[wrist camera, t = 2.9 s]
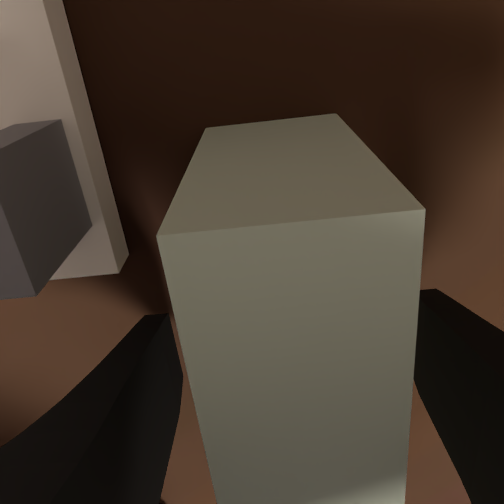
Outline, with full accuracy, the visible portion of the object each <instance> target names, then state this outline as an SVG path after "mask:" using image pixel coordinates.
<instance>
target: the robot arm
mask: <svg viewBox="0 0 504 504" xmlns="http://www.w3.org/2000/svg"><path fill="white" fill-rule="evenodd" d="M413 379H414V381H415V384H416V387H417V390H418V393H419V395H420V397H421V399H422V401H423V403H424V406H425V408H426V410H427V412H428V414H429V416H430V418H431V420H432V422H433V424H434V426H435V428H436V430H437V432H438V434H439V436H440V438H441V440H442V442H443V444H444V446H445V448H446V450H447V452H448V454H449V456H450V458H451V460H452V462H453V464H454V466H455V468H456V470H457V472H458V474H459V476H460V478H461V480H462V483H463V485H464V487H465V489H466V492H467V494H468V496H469V498H470V501H471V504H504V332H503V331H502V330H500V329H498V328H497V327H495V326H494V325H492V324H490V323H489V322H487V321H486V320H484V319H483V318H481V317H479V316H478V315H476V314H475V313H473V312H472V311H470V310H469V309H467V308H466V307H464V306H463V305H461V304H460V303H458V302H457V301H455V300H453V299H452V298H450V297H449V296H447V295H446V294H444V293H442V292H441V291H439V290H437V289H427V290H420V294H419V308H418V321H417V335H416V349H415V363H414V377H413ZM182 384H183V373H182V369H181V364H180V360H179V356H178V351H177V347H176V343H175V339H174V334H173V330H172V326H171V321H170V317H169V313H166V314H155V315H145V316H144V317H143V318H142V319H141V320H140V321H139V322H138V323H137V324H136V325H135V326H134V327H133V328H132V329H131V330H130V331H129V333H128V334H127V335H126V336H125V337H124V338H123V339H122V340H121V341H120V342H119V343H118V344H117V346H116V347H115V348H114V349H113V350H112V351H111V352H110V353H109V354H108V355H107V356H106V357H105V358H104V359H103V360H102V361H101V362H100V363H99V364H98V365H97V366H96V367H95V368H94V369H93V370H92V371H91V372H90V373H89V374H88V375H87V376H86V377H85V378H84V379H83V380H82V381H81V382H80V383H79V384H78V385H77V386H76V387H75V388H74V389H72V390H71V391H70V392H69V393H68V394H67V395H66V396H65V397H64V398H63V399H62V400H61V401H59V402H58V403H57V404H56V405H55V406H54V407H52V408H51V409H50V410H49V411H48V412H47V413H45V414H44V415H43V416H42V417H40V418H39V419H38V420H37V421H35V422H34V423H33V424H32V425H30V426H29V427H28V428H27V429H25V430H24V431H23V432H22V433H20V434H19V435H18V436H16V437H15V438H13V439H12V440H11V441H9V442H8V443H6V444H5V445H4V446H2V447H1V448H0V504H159V501H160V497H161V492H162V488H163V484H164V479H165V475H166V471H167V466H168V462H169V458H170V454H171V449H172V445H173V440H174V436H175V432H176V427H177V423H178V418H179V413H180V405H181V395H182Z"/></svg>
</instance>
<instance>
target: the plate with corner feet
mask: <svg viewBox="0 0 504 504" xmlns="http://www.w3.org/2000/svg"><path fill="white" fill-rule="evenodd" d="M128 256H129V252H128V248H127V245H126V241H125V237H124V233H123V229H122V226H121V222H120V218H119V214H118V210H117V206H116V203H115V199H114V195H113V191H112V187H111V184H110V180H109V176H108V172H107V168H106V165H105V161H104V157H103V153H102V149H101V146H100V142H99V138H98V134H97V130H96V127H95V123H94V119H93V115H92V111H91V108H90V104H89V100H88V96H87V92H86V89H85V85H84V81H83V77H82V73H81V70H80V66H79V62H78V58H77V54H76V51H75V47H74V43H73V39H72V35H71V32H70V28H69V24H68V20H67V16H66V13H65V9H64V5H63V1H62V0H0V300H2V299H12V298H23V297H33V296H37V295H38V294H39V292H40V291H41V290H42V288H43V287H44V286H45V285H46V283H47V282H48V281H49V280H55V279H65V278H75V277H86V276H96V275H106V274H117V273H119V272H120V271H121V269H122V267H123V265H124V263H125V261H126V259H127V257H128Z"/></svg>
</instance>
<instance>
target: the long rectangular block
mask: <svg viewBox="0 0 504 504" xmlns="http://www.w3.org/2000/svg"><path fill="white" fill-rule="evenodd" d="M425 211H426V209H425V208H424V207H423V206H422V205H421V204H420V203H419V202H418V200H417V199H416V198H415V197H414V196H413V195H412V194H411V193H410V192H409V191H408V190H407V189H406V188H405V186H404V185H403V184H402V183H401V182H400V181H399V180H398V179H397V178H396V177H395V176H394V175H393V174H392V173H391V171H390V170H389V169H388V168H387V167H386V166H385V165H384V164H383V163H382V162H381V161H380V160H379V159H378V158H377V156H376V155H375V154H374V153H373V152H372V151H371V150H370V149H369V148H368V147H367V146H366V145H365V144H364V142H363V141H362V140H361V139H360V138H359V137H358V136H357V135H356V134H355V133H354V132H353V131H352V130H351V129H350V127H349V126H348V125H347V124H346V123H345V122H344V121H343V120H342V119H341V118H340V117H339V116H338V115H337V114H336V113H335V114H326V115H317V116H308V117H299V118H290V119H281V120H272V121H263V122H254V123H245V124H236V125H227V126H218V127H209V128H205V131H204V133H203V135H202V137H201V139H200V141H199V144H198V146H197V148H196V150H195V152H194V155H193V157H192V159H191V161H190V163H189V165H188V168H187V170H186V172H185V174H184V176H183V178H182V181H181V183H180V185H179V187H178V189H177V191H176V194H175V196H174V198H173V200H172V202H171V205H170V207H169V209H168V211H167V213H166V215H165V218H164V220H163V222H162V224H161V226H160V228H159V231H158V233H157V235H156V237H157V242H158V246H159V251H160V255H161V259H162V264H163V268H164V273H165V277H166V281H167V286H168V290H169V295H170V299H171V303H172V308H173V312H174V316H175V321H176V325H177V330H178V334H179V338H180V343H181V347H182V352H183V356H184V360H185V365H186V369H187V374H188V378H189V382H190V387H191V391H192V396H193V400H194V404H195V409H196V413H197V417H198V422H199V426H200V431H201V435H202V439H203V444H204V448H205V453H206V457H207V461H208V466H209V470H210V475H211V479H212V483H213V488H214V492H215V497H216V501H217V504H404V502H405V488H406V474H407V460H408V446H409V432H410V418H411V405H412V391H413V377H414V363H415V349H416V335H417V321H418V308H419V294H420V280H421V266H422V252H423V238H424V224H425Z"/></svg>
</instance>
